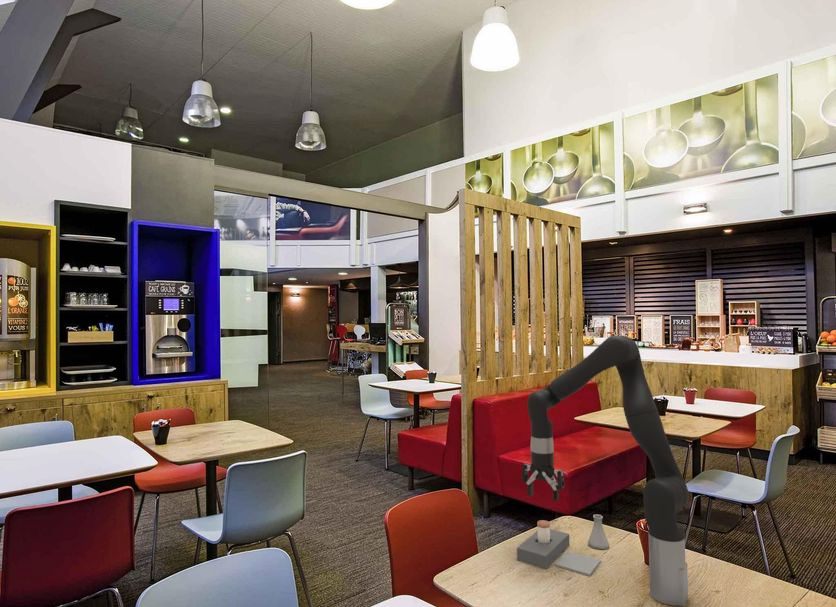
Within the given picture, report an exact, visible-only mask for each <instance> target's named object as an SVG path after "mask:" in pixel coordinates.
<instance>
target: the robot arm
mask: <svg viewBox="0 0 836 607" xmlns="http://www.w3.org/2000/svg"><path fill="white" fill-rule="evenodd" d="M613 367H615V368H616V370H617V372H618V375H619V378H620V381H621V387H622V408H623V413H624V416H625V419H626V422H627V426H628V428H629V429H628V430H629V431H630V435H631V436H632V438H633V439H634V440H635V442H636V443H637V445H639V447H640V448H641V449H642V450H643V451H644V453H645V454H646V455H647V457H648V459H649V461H650V463H651V466H652V468H653V471H654V475H655V478H652V479H650V480H648V481H647V482H646V483H645V485H644V487H643V496H642V497H643V511H644V512H643V513H644V519H645V523H646V525H647V529H648V562H649V563H648V564H649V565H648V566H649V568H648V570H649V571H648V572H649V594H650V597H651V598H653V599H654V600H655V601H657V602H659V603H662V604H664V605H669V606H681V607H685V606H686V604H687V601H688V598H689V588H688V587H689V584H688V583H689V581H688V578H689V577H688V563H687V562H686V539H685V538H686V537H685V534H686V533H685V528H684V526H683V525H682V524H681V523H680V522H678V521H677V512H676V511H677V510H679V509H681V508H684V507H685V506H686V505H687V504H688V502H689V498H690V496H689V490H688V487H687V486H688V485H687V483H686V481H685V479H684V477H683V475H682V472H681V470H680V468H679V466H678V464H677V461H676V459H675V456H674V454H673V452H672V449H671V446H670V442H669V440H668V437H667V435H666V431H665V429H664V425H663V422H662V418H661V416H660V413H659V411H658V408H657V405H656V403H655V400H654V397H653V394H652V391H651V387H650V386H649V384H648V381H647V378H646V374H645V371H644V367H643V363H642V358H641V353H640V350H639V346H638V344H637V343H636V341H635V340H633V339H632V338H631V337H629V336H625V335H612V336H608V337H607V338H606V339H605V340H604V341H602V342H601V343H600V344H599V345H598V346H597V347H596V348H595V349H593V351H592V352H591V353H590V354H588V355H587V356H586V357H585V358H584V359H582V360H581V361H580V362H578V363H577V364H575V365H574V366H573V367H570V368H569V369H568V370H566V371H565V372H562V374H561V375H558V376H557V377H556V378H554V379H553V380H552V381H551V382H550V383H549V384H548V385H547V386H545V387H544V388H541V389H539V390H536V391H533V392H531V393H530V394H529V396H528V398H527V402H526V406H527V412H528V416H529V421H530V435H531V436H530V464H529V463H528V462H525V463H524V464H523V465H522V466H521V482H523V483H525V484H526V485H527V486H526V487H527V489H526V490H527V494H528V496H529V497H533V496H534V483H533V482H535V480H537V481H542V482H547V483H548V485H550V487H551V488H552V501H553V502H557V501H558V500H559V498H560V491H561V490H563V489H564V488H565V475H564V469H562V468H561V469H555V467H554V466H555V465H554V464H555V459H554V458H555V455H554V450H555V449H554V448H555V447H554V437H553V434H554V433H553V432H554V431H553V423H552V420H551V419H549V417H548V411H549V410H551V409H552V408H554V407H555V406H557V405H558V404H559V403H561V402H562V401H563V400H565V399H566V398H568V397H571V396H572V395H574V394H575V393H576V392H578V391H580V390H581V389H583V387H585V386H586V385H587V384H588V383H589V382H590V381H591V380H592V379H593V378H594V377H596V376H598V375H599V374H600V373H603V372H605V371H606V370H609V369H610V368H613ZM529 471H531V473H532V474H531V476H530V477H529ZM554 475H555V476H556V477H557V478H555V476H554ZM556 479H557V480H556Z"/></svg>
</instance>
